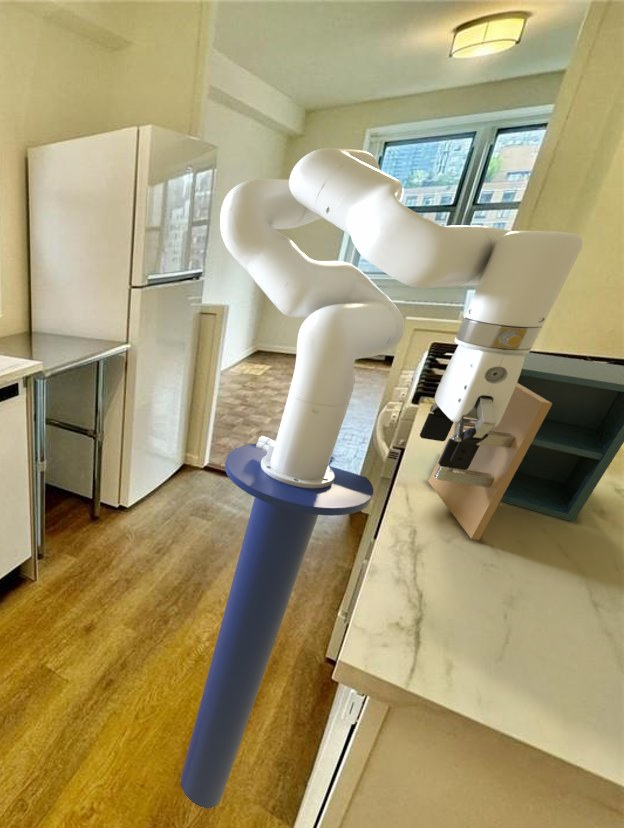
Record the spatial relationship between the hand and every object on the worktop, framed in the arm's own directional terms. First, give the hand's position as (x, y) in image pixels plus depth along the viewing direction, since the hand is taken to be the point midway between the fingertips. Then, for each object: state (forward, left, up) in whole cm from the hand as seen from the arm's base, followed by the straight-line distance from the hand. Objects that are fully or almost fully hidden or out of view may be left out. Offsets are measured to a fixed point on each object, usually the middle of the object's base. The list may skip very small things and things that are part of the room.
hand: (441, 452), depth 70 cm
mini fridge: (+3, +27, -12) cm, 29 cm away
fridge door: (-1, +8, -12) cm, 14 cm away
